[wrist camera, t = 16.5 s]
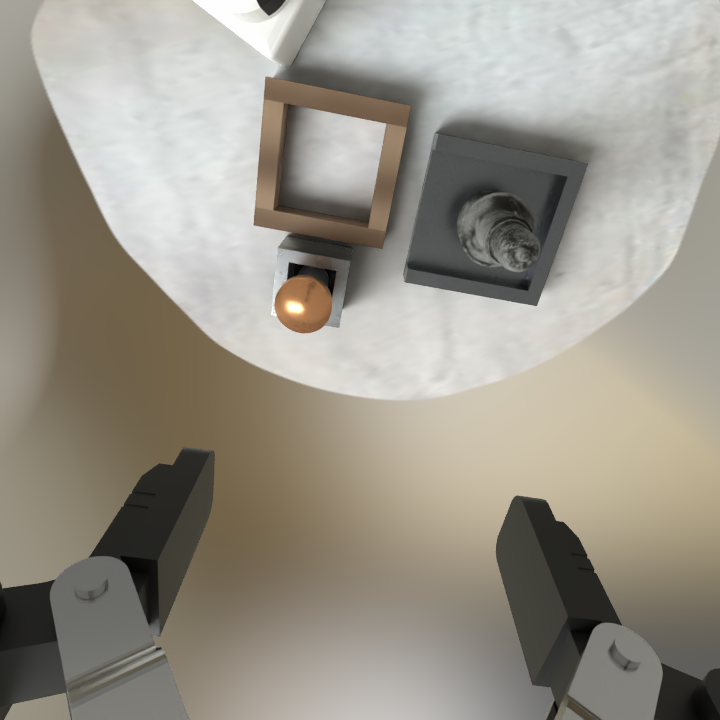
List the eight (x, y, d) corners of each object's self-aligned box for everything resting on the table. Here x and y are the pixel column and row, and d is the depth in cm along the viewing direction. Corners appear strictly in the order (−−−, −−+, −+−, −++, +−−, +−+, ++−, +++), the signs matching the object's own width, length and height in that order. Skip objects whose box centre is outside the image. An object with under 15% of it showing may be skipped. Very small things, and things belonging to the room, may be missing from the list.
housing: (286, 236, 44) (277, 248, 40) (352, 248, 44) (350, 261, 40) (279, 298, 47) (270, 315, 43) (342, 309, 47) (339, 327, 43)
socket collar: (271, 78, 39) (265, 76, 36) (408, 106, 39) (411, 105, 37) (259, 219, 43) (253, 225, 41) (381, 242, 44) (382, 248, 42)
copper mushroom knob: (291, 251, 43) (277, 274, 37) (341, 260, 43) (335, 284, 37) (286, 298, 45) (271, 327, 38) (333, 306, 45) (327, 337, 39)
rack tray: (434, 132, 40) (438, 133, 38) (576, 161, 41) (588, 163, 38) (403, 274, 45) (404, 282, 43) (528, 296, 46) (536, 305, 44)
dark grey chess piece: (467, 267, 44) (497, 315, 33) (442, 205, 42) (466, 236, 31) (531, 238, 43) (584, 279, 32) (510, 173, 40) (559, 193, 30)
